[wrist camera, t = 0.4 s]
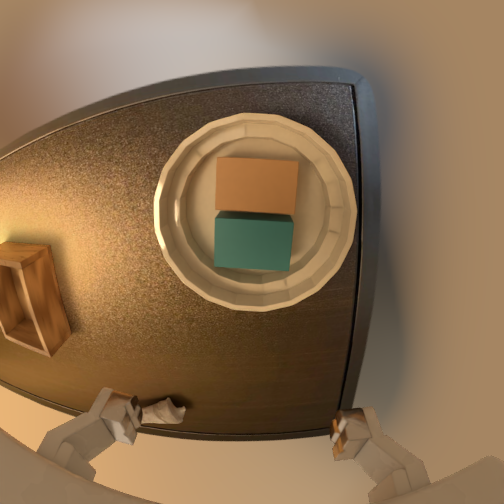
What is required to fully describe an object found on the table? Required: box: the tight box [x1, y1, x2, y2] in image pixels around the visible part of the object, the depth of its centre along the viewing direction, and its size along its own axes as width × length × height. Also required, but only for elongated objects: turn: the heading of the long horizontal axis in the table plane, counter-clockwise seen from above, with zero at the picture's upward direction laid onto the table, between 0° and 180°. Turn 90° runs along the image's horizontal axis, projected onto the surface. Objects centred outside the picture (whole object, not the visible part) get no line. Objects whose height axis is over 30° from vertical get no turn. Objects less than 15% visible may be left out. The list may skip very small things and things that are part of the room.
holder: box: [0, 242, 72, 358], centre depth 25 cm, size 13×11×6 cm
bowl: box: [154, 113, 357, 312], centre depth 21 cm, size 15×15×4 cm
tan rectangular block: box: [215, 157, 299, 214], centre depth 21 cm, size 4×6×3 cm, turn 87°
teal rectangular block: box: [214, 211, 294, 271], centre depth 22 cm, size 4×6×3 cm, turn 87°
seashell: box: [141, 398, 186, 424], centre depth 31 cm, size 14×4×4 cm
